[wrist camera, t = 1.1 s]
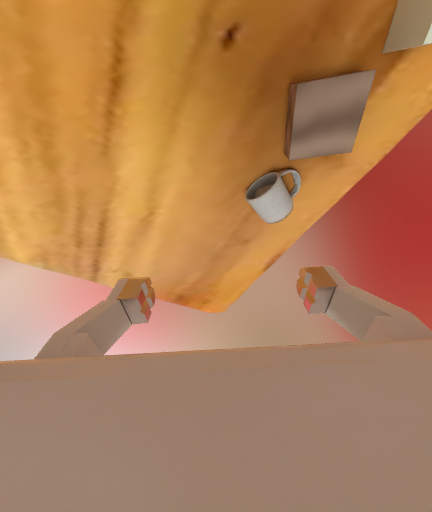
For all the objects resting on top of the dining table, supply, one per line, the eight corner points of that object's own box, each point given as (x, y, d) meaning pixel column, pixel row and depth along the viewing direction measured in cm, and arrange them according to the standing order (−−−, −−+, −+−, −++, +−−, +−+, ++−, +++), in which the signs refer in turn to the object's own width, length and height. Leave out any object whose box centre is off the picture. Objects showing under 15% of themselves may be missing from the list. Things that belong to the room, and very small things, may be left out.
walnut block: (289, 84, 30) (297, 84, 26) (358, 71, 29) (376, 69, 25) (283, 152, 37) (289, 160, 33) (339, 145, 35) (351, 152, 32)
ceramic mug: (263, 214, 46) (267, 232, 40) (243, 189, 42) (245, 205, 36) (305, 187, 41) (317, 203, 35) (288, 155, 37) (298, 168, 31)
